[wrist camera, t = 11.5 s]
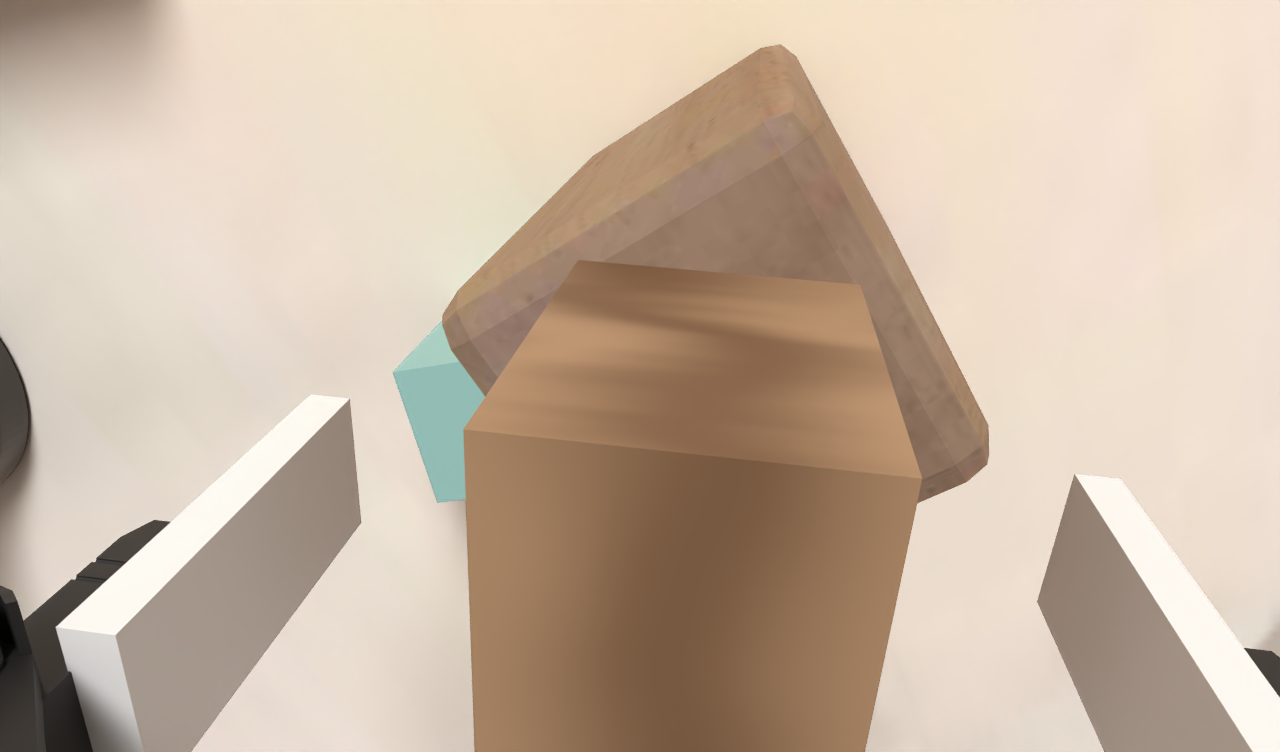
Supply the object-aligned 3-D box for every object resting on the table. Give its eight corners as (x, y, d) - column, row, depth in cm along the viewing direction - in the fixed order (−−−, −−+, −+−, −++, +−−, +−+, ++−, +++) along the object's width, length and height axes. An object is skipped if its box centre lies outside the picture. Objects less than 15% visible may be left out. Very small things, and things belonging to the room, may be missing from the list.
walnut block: (572, 497, 22) (475, 758, 14) (577, 259, 19) (463, 429, 12) (821, 525, 21) (851, 812, 14) (860, 284, 18) (921, 478, 11)
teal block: (491, 417, 44) (437, 502, 37) (457, 304, 42) (392, 372, 35) (607, 401, 43) (575, 486, 36) (578, 284, 41) (537, 349, 33)
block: (896, 243, 38) (1017, 480, 20) (697, 349, 41) (643, 638, 23) (783, 32, 35) (801, 82, 17) (578, 164, 38) (410, 324, 20)
